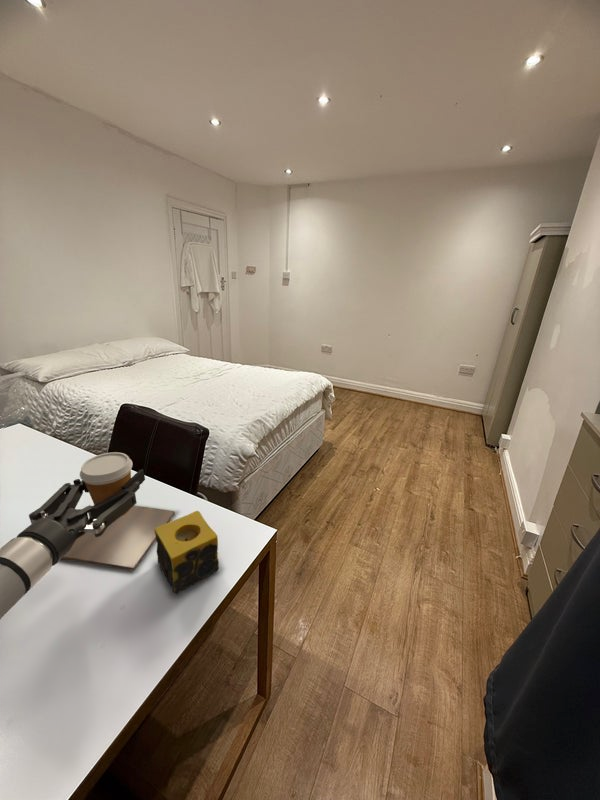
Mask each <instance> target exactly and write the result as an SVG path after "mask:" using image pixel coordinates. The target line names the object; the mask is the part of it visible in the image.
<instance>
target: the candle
mask: <svg viewBox="0 0 600 800" xmlns="http://www.w3.org/2000/svg"><path fill="white" fill-rule="evenodd" d="M154 532H155V537H156V540H155V541H156V543H157V544H156V557H157V564H158V565H159V568H160V570H161V572H162V573H163V576H164V578H165V579H166V581H167V584H169V586H170V588H171V589H172V593H173V594H174V595H177V594H179V593H180V592H182V591H184V590H186V589H188V588H190V587H191V586H194V585H196V584H197V583H199V582H200V581H202V580H203V579H206V578H208V577H209V576H210V575H213V574H215V573H217V572H218V571H219V569H220V567H219V558H218V557H219V553H218V550H219V539H218V535H217V533H216V531H214V530H213V529H212V527H211V526H210V525H209V524H208V523H207V521H206V520H205V517H203V515H202V514H201V512H200V511H199V510H195V511H192V512H191V513H188V514H187V515H183V516H181V517H178V518H176V519H174V520H172V521H171V520H170V521H169V522H168V523H166V524H164V525H161V526H159V527H156V528H155V529H154Z"/></svg>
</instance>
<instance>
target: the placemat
mask: <svg viewBox="0 0 600 800" xmlns="http://www.w3.org/2000/svg"><path fill="white" fill-rule="evenodd" d="M175 514H176V512H175V510H169V509H162V508H155V507H149V506H140V505H134V506H133V507H132V508H130V510H129V511H128V512H127V513H126V514H125V515H123V516H121V517H119V518H118V519H117V520H116V521H114V522H113V523H112V524H111V525H110V526H108V527H107V528H106V530H105V531H104V533H103V534H102V535H101V536H99V537H95V535H94V533H86V534H84V535H83V536H81V537H79V538H78V539H76V541H75V542H74V544H73V546H72V548H71V549H70V551H69V552H68V553H67V554H66V555H64V556H63V557H62V558H61V559H60V560H67V561H71V562H73V561H74V562H80V563H84V564H85V563H86V564H91V565H97V566H104V567H111V568H116V569H122V570H127V571H135V570H136V569H137V567H138V566H139V564H140V563H141V561H142V560H143V559H144V557H145V556H146V555H147V553H148V552H149V550H150V549H151V547H152V546H153V544H154V543H156V541H157V540H156V537H155V532H154V529H155V528H156V527H159V526H161V525H164V524H166V523H169V522H171V519H172V518H173V517H174V515H175Z"/></svg>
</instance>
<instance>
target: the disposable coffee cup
mask: <svg viewBox="0 0 600 800" xmlns="http://www.w3.org/2000/svg"><path fill="white" fill-rule="evenodd" d="M133 466H134V464H133V461H132V459H131V458H130V456H129V455H128V454H126V453H124V452H117V451H114V452H105V453H101V454H98V455H95V456H93V457H91V458H88V460H86V461H85V462H84V463H83V464H82V465H81V468H80V472H79V479H80V480H81V481H82V480H83V481H84V482H85V484H86V487H87V489H88V491H89V492H88V493H89V496H90V498H91V501H92V503H93V505H95V504H97V503H99V502H101V501H103V500H105V499H107V498H108V497H110V496H112V495H114V494H116V493H118V492H120V491H122V486H123V485H124V484H125V483H127V482H128V481H129V480H130V479H131V478H132V468H133ZM129 510H130V509H129ZM129 510H128V511H129ZM128 511H127V512H128ZM127 512H125V513H124V514H123V515H125V514H126V513H127ZM123 515H122V516H123Z"/></svg>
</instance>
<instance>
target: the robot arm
mask: <svg viewBox="0 0 600 800" xmlns="http://www.w3.org/2000/svg"><path fill="white" fill-rule="evenodd" d="M145 481H146V476H145V470H144V469H142V468H141V469H139V470H138V471H137V472H136V473H135V474H133V475H132V476H131V479H130V480H129V481H128V482H127V483H125V484H124V485H123V486H122V491H120V492H118V493H116V494H114V495H112V496H110V497H108V498H107V499H105V500H103V501H101V502H99V503H97V504H95V505H94V504H93V505H92V504H91V505H90V504H89V505H87V506H85V507H83V508H80V509H79V508H78V509H76V508H77V505H78V504H79V502H80V499H82V496H83V493H89V491H88V489H87V487H86V484H85V482H84V481H83V480H82V479H81V478H76V479H74V480H73V481H72V482H73V484H71V483H70V482H66V483H64V484H63V485H62V486H61V487H60V488H59V489H58V490H57V491H55V492H54V493H53V494H52V496H50V497H49V498H48V499H47V500H46V501H45V502H44V503H43V504H42V505H41V506H40V507H39V508H37V509H36V510H34V511H32V512H30V513H29V514H28V518H29V521H30V523H31V524H30V525H28V526H27V527H25V529H24V530H22V531H21V532H19V533H18V534H17V535H16V537H13V538H12V539H10V540H9V541H8V542H6V543H5V544H4V545H3V546H2V547H0V620H2V618H3V617H4V616H5V615H6V614H7V613H8V612H9V611H11V609H12V608H14V606H15V605H16V604H17V603H18V602H19V601H20V600H21V599H22V598H23V597H25V595H26V594H27V593H28V592H29V591H30V590H31V589H32V588H33V587H34V586H35V585H36V584H37V583H38V582H40V580H42V578H43V577H44V576H46V574H47V573H49V572H50V571H51V569H52V567H54V566H55V565H56V564H58V563H59V562H60V561H61V560H62V559H61V558H62V557H63V556H64V555H66V554H67V553H68V552H69V551H70V549H71V548H72V546H73V544H74V542H75V541H76V539H78V538H79V537H81V536H83V535H84V534H86V533H94V535H95V537H99V536H101V535H102V534H103V533H104V531H105V530H106V528H107V527H108V526H110V525H111V524H112V523H113V522H114V521H116V520H117V519H118V518H119V517H121V516H122V515H123V514H124V513H125V512H127V511H128V510H129V509H130V508H132V507H133V506H136V504H137V503H138V501H137V497H136V493H137V492H138V490H140V487H141V485H142V484H143V483H144V482H145Z"/></svg>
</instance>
